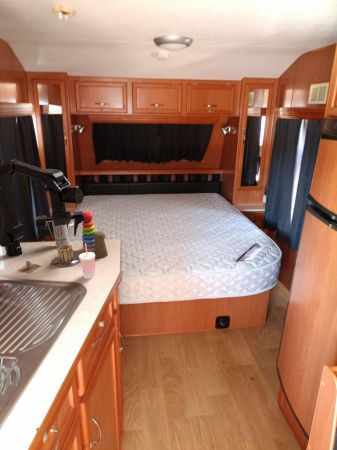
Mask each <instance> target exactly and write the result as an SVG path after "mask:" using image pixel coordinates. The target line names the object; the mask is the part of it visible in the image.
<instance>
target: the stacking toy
mask: <svg viewBox="0 0 337 450" xmlns="http://www.w3.org/2000/svg"><path fill="white" fill-rule="evenodd" d="M82 212H83V213H84V219H85V221H82V223H81V224H82V232H81V233H82V235H81V237H82V239H81V241H82V251H84V252H86V248H85V243H86V246H87V252H93V253H94V248H95V240H94V239H93V234H94V233H95V232H97V231H96V229H95V227H96V226H95V225H94V221H93V213H92V212H91V211H89V210H84V211H82Z"/></svg>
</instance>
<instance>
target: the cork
mask: <svg viewBox="0 0 337 450" xmlns="http://www.w3.org/2000/svg"><path fill="white" fill-rule="evenodd" d="M105 238H106V234H105V232H104V231H96V232H95V233H94V234H93V239H94V240H95V248H94V251H93V253H95V258H96V259H105V258H107V257H108V255H109V253H108V249H107V245H106V239H105Z"/></svg>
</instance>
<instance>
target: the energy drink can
mask: <svg viewBox="0 0 337 450" xmlns="http://www.w3.org/2000/svg"><path fill="white" fill-rule="evenodd" d="M51 224H52V229H53V234H54V242H55V246H56V247H57V248H58V247H60V246H62V245H70V240H69V232H68V228H67V224H66V225H58V226H54V222H51Z"/></svg>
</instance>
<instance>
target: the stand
mask: <svg viewBox="0 0 337 450" xmlns="http://www.w3.org/2000/svg"><path fill="white" fill-rule="evenodd" d="M41 267H42V265H41V264H36V263H32V262H31V260H27V261H25V265H24V266H22V267H20V268H18V269H17V270H16V272H21V273H25V274H30V275H31V273H34V271H36V270H38V269H39V268H41Z"/></svg>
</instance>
